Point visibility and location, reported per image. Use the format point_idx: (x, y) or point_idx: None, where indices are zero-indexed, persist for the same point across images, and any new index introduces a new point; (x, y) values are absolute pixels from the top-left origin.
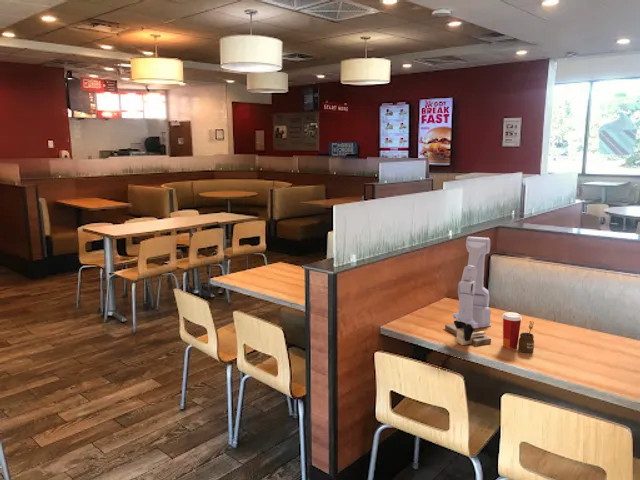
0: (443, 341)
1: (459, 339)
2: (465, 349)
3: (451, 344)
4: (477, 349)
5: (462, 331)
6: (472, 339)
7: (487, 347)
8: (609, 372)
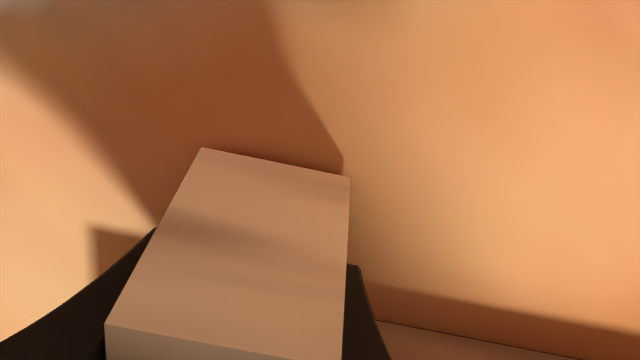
0: (533, 39)
1: (264, 201)
2: (63, 73)
3: (342, 49)
4: (13, 204)
5: (121, 327)
6: None
7: None
8: None
